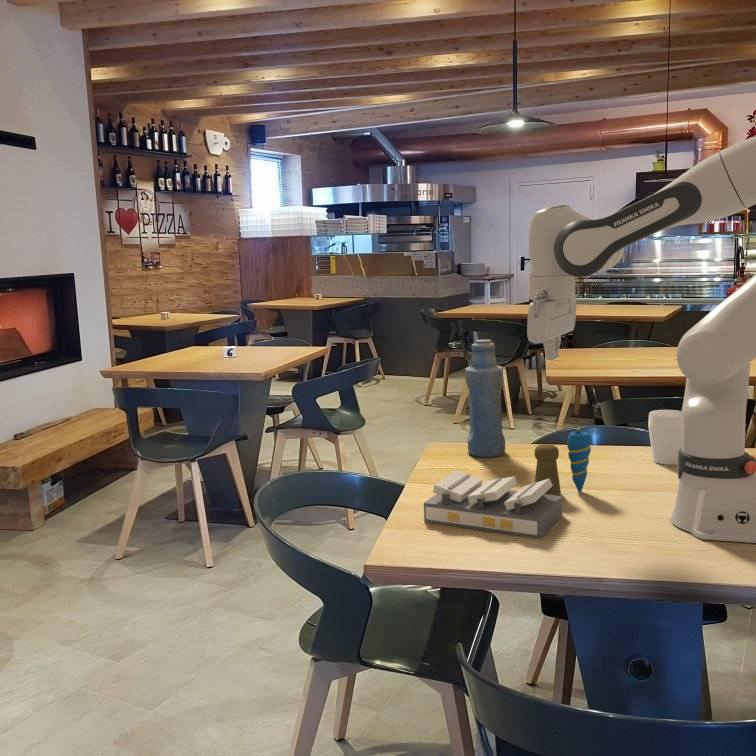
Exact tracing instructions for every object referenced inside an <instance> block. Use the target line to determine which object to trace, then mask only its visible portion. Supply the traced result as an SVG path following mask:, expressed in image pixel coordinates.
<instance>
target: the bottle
mask: <svg viewBox="0 0 756 756" xmlns="http://www.w3.org/2000/svg"><path fill="white" fill-rule="evenodd" d="M495 346H496V345H495V343H494V342H492V339H476V340H474V342H473V343H472V344H471V359H470V360H471V361H470V366H467V367H466V368H465V369H464V370H465V371H464V373H465V383H466V386H467V388H468V398H469V399H468V403H469V407H468V409H469V434H468V437H467V452H468V454H469V455H470V456H473V457H475V458H482V459H483V458H496V457H500V456H503V455H504V454H505V453H506V438H505V436H504V433H503V421H502V418H503V417H502V397H501V396H502V395H501V394H502V388H503V385H504V384H503V383H504V368H503V366H502V365H497V358H496V352H495V351H496V350H495V349H496V347H495Z"/></svg>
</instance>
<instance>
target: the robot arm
mask: <svg viewBox="0 0 756 756" xmlns="http://www.w3.org/2000/svg"><path fill="white" fill-rule="evenodd" d="M754 205H756V135H755V136H751V137H750V138H746V139H744V140H742V141H738V142H736V143H735V144H732V145H730V146H727V147H725V148H724V149H721V150H720V151H718V152H715V153H714V154H712V155H710V156H709V157H706V158H705V159H703V160H701V161H700V162H698V163H696V164H695V165H694V166H692V167H691V168H690V169H688V170H686V171H685V172H684V173H682V174H681V175H679V176H678V177H677V178H675V179H674V180H673V181H671V182H670V183H668V184H667V185H665V186H664V187H662V188H661V189H659V190H658V191H656V192H655V193H653V194H651V195H649V196H647V197H645V198H643V199H641V200H638V201H637V202H635V203H633V204H630V205H628V206H626V207H624V208H623V209H620V210H618V211H616V212H614V213H612V214H609V215H607V216H605V217H602V218H598V219H595V218H592V217H589V216H587V215H584V214H582V213H581V212H578V211H576V210H575V209H573V208H572V207H571V206H570V205H565V204H560V205H557V206H554V205H553V206H549V207H545V208H542V209H540V210H537V211H536V212H535V213H534V214H533V215H532V216H531V219H530V222H529V231H528V233H529V234H528V256H529V260H530V269H529V273H528V298H529V300H530V301H532V302H530V303H529V306H528V310H527V311H528V312H527V326H526V327H527V329H526V333H527V334H526V335H527V339H528V342H533V343H542V344H543V348H544V351H545V360H547V361H554V360H556V359H558V358H559V356H560V355H559V353H560V350H559V349H560V347H561V342H562V341H561V340H562V336H563V335H565V334H568V333H570V332H573V331H574V329H575V325H576V320H577V319H576V318H577V297H578V296H579V295H580V286H579V285H578V284H577V283H576V279H575V277H576V278H585V277H589V276H592V275H593V274H596V273H600V272H605V271H608V270H610V269H612V268H613V267H615V266H616V265H618V263H619V262H621V261H622V259H623V257H624V255H625V251H626V247H629V246H632V245H634V244H635V243H637V242H640V241H641V240H643V239H646V238H648V237H650V236H652V235H654V234H657V233H659V232H662V231H664V230H666V229H671V228H675V227H679V226H685V225H686V226H687V225H696V224H697V225H698V224H703V223H709V222H713V221H714V222H715V221H717V220H720V219H725V218H727V217H730V216H732V215H735V214H737V213H740V212H742V211H745V210H746V209H749V208H750V207H752V206H754ZM755 359H756V273H755V274H754V275H752V276H751V278H749V279H748V280H747V281H746V282H744V284H742V285H740V287H738V288H737V289H736V290H735V291H734V292H732V293H731V294H730V295H729V296H728V297H727V298H725V299H724V300H723V301H722V302H720V303H719V304H718V305H717V306H716V307H714V308H713V309H712V310H711V311H710V312H709V313H708V314H706V315H705V316H704V317H703V318H702V319H700V320H699V321H698V322H697V323H695V324H694V325H693V326H692V327H691V328H689V330H687V331H686V332H685V333H684V334H683V336H682V337H681V339H680V340H679V342H678V345H677V349H676V360H677V365H678V368H679V369H680V371H681V373H682V375H684V377H686V380H685V387H684V388H685V389H684V395H683V402H682V407H681V411H682V423H681V448H680V450H679V454H678V464H677V476H678V479H679V480H678V487H677V493H676V498H675V503H674V508H673V511H672V514H671V516H670V522H671V523H672V524H673V525H674V526H676V527H677V528H678V529H681V530H683V531H686V532H689V533H691V534H692V535H694V536H695V537H696V538H697V539H700V540H707V541H724V542H734V543H736V542H737V543H738V542H739V543H751V544H756V456H755V454H752V455H751V454H749V453H748V452H746V451H745V449H746V448H745V446H746V445H745V444H746V420H747V419H746V416H747V415H746V414H747V405H748V404H747V403H748V395H749V385H750V384H749V382H750V373H751V363H752V362H753V361H754V360H755Z"/></svg>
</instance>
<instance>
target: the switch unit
mask: <svg viewBox="0 0 756 756" xmlns="http://www.w3.org/2000/svg"><path fill="white" fill-rule="evenodd" d="M518 491H519V490H513V489H510V490H509V491H508V492H506V493H505V494H504V495H503V496H502V497H500V498H499V499H498V500H493V501H486V502H484V498H479V497H478V498H477V503H473V504H470V503H469V500H468V497H466V498H465V499H464V500H462V501H461V502H458V501H455V500H452V499H450V498H449V494H447V493H442V495H439V494H436V493H435V494H434V495H433V496H431V497H430V498H428V499H427V500H426V501H424V502H423V517H424V518H423V519H424V523H430V524H437V525H442V526H443V525H444V526H448V527H449V526H450V527H457V528H463V529H470V530H477V531H485V532H490V533H498V534H499V533H500V534H503V535H511V536H517V537H526V538H532V539H538V540H541V538H542V537H543V536H544V535H546V533H547V532H548V531H549V530H550V529H551V528H552V527H553V526H554V525H555V523H557V521H559V519H561V518H562V516H563V495H561V496H556V495H548V494H543V495H542V496H541V497H540V498H539V499H538V500H537V501H536V502H534V503H531V504H528V505H524V506H521V503H519V502H515V503H514V509H511V510H508V511H507V509H506V507H505V504H504V502H506V501H507V500H508V499H509V498H510V497H512V496H513V495H514V494H515V493H516V492H518Z"/></svg>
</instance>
